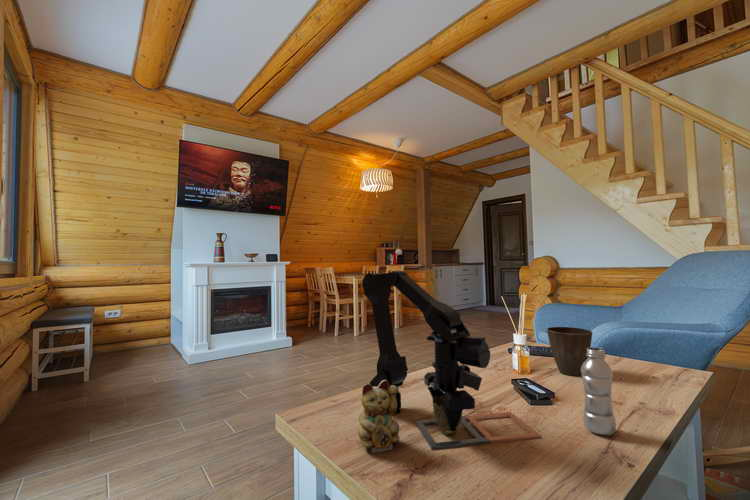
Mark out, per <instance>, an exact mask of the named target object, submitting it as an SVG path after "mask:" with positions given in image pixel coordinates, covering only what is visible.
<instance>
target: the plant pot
mask: <svg viewBox="0 0 750 500" xmlns="http://www.w3.org/2000/svg"><path fill="white" fill-rule="evenodd" d="M546 331H547V337H548V343H549V345H550V350H551V353H552V356H553V359H554V362H555V364H556V367H557V369H558V371H559V373H560V374H562V375H565V376H569V377H570V376H571V377H579V376H581V377H582V373H581V366H582V364H583V363H584V362H585V361H586V360H587V358H588V356H587V355H586V354H587V348H590V347H591V346H592V340H593V331H591V330H589V329H585V328H579V327H570V326H569V327H568V326H551V327H547V328H546Z"/></svg>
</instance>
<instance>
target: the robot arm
mask: <svg viewBox="0 0 750 500" xmlns="http://www.w3.org/2000/svg"><path fill="white" fill-rule="evenodd" d="M361 285H362V288H363V293H364V295H365V297H366V299H367V300H368V301H369V303H370V304H371V308H372V309H371V310H372V315H373V320H374V325H375V331H376V338H377V345H378V350H379V356H378V359H377V361H376V375H375V376H374V377H373V378H372V379H371V381H369V384H370V385H371V386H372V387H375V386H379V384H380V382H381V381H383V380H387V381H388V382H389V386H392V385H394V386H396V387H397V388H398V389H399V390H400V388H399V387H402V386H403V385H404V381H405V380H406V378H407V376H408V371H409V369H408V365H407V358H406V356H405V355H403V356H402V355H401V354H400V353H399V352H398V350H397V343H396V338H395V333H394V327H393V321H392V316H391V309H390V305H389V299H390V296H391V293H392V287H394V288H396V289H397V290H398V291H399V292H400V294H402V295H403V296H404V297H405V298H406V299H408V300H409V301H410V302H411V304H412V305H413V306H415V307H416V308H417V309H418V310H419V311H420V312H421V313H422V315H423V318H424V321H425V323H426V324H427V325H428V326H429V328H430V329H431V330H432V332H431V333H430V334H429V336H427V337H426V340H427V341H431V342H434V346H433V347H434V362H432V363H431V366H432V367H433V368H434V371H430V372H426V374H425V375H424V377H423V379H424V382H423V383H424V384H425V385H426V386H427V390H428V391H429V394H430V396H431V399H432V400H433V397H434V398H435V396H436V395H437V396H438V397H440V395H442V397H443V401H444V403H442V406H443V409H444V412H445V415H446V418H447V421H448V424H449V427H450V429H451V431H457V428H458V427H457V425H458V422H459V418H460V415H461V413H462V414H463V411H464V410H474V409H475V408H476V399H475V398H474V397H473V396H472V395H471V394H470V393H469V392H468V391H466V389H465V387H467V388H470V389H474V390H475V391H478V392H479V391H480V387H481V384H482V380H483V377H481V376H479V375H478V374H477V373H474V372H473V371H471V367H474V368H479V369H480V368H481V369H487V367H488V366H489V364H490V360H491V350H490V347H489V345H488V343H486V337H484V336H483V337H482V336H471V333H470V332H469V330H468V329H467V327H466V326H465V324H464V322H463V321H462V319H461V318H462V317H461V314H460V313H459V311H457V310H456V309H455V308H453V307H452V306H450V305H449V304H446V303H444V302H441V301H439V300H437V299H435V297H433V296H431V295H430V294H429V293H428V292H427V291H426V290H425V289H424V288H422V287H421V286H420V285H419V284H418V283H417V282H416V281H415V280H413V279H412V278H411V277H410V276H409V275H408V273H407V272H406V271H404V270H392V271H390V272H389V271H388V272H377V273H376V272H372V273H366V274H365V275H364V276H363V278H362V280H361ZM459 363H460V364H461V365H460V364H459ZM457 389H459V390H457ZM461 389H462V390H461ZM401 394H402V393H401V392H400V391H399V392H398V393H397V394H395V396H396V400H397V410H396V412H395V413H394V414H401V413H402V411H401V408H402V395H401ZM394 414H393V415H394Z"/></svg>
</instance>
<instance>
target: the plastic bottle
mask: <svg viewBox="0 0 750 500" xmlns="http://www.w3.org/2000/svg"><path fill="white" fill-rule="evenodd" d="M586 355H587V356H588V358H587V360H586V361H585V362H584V363H583V364H582V366H581V373H582V375H581V377H582V382H583V390H584V410H583V417H582V419H583V423H584V426H585V428H586V429H587V431H590V432H591V433H593V434H596V435H600V436H612V435H614V433H615V432H616V429H617V422H616V417H615V415H614V409H613V402H612V385H613V376H614V373H613V370H612V367H610V365H609V364H608V362H607V361H606V360H605V359H606V351H605V349H604V348H600V347H590V348H587V354H586Z"/></svg>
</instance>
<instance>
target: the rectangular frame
mask: <svg viewBox="0 0 750 500" xmlns="http://www.w3.org/2000/svg"><path fill="white" fill-rule="evenodd" d="M501 418H509V419H510V420H511V421H513V422H514V423H515V424H516V425H518V426H519V427H520V428H521V429H523V430H524V431H525V433H515V434H503V435H497V436H496V435H495V436H493V435H491V434H490V433H489V432H488V431H487V430H486V429H485V428H484V427H483V426H482V425H481V424H480V423H479V422H478V421H481V420H490V419H491V420H492V419H501ZM415 425H416V426H417V429H418V430H419V431H420V433H421V435H422V436H423V438H424V440H425V441H426V443H427V444H428V446H429V448H430V449H431V450H432V451H433V450H440V449H441V450H442V449H450V448H451V449H452V448H459V447H460V448H462V447H467V446H468V447H469V446H480V445H487V444H495V443H496V444H497V443H504V442H505V443H506V442H513V441H524V440H533V439H541V438H542V437H541V436H542V434H540V433H539V432H537V431H536V430H535V429H533V428H532V426H531V427H530V426H529V425H528V424H527V423H525V422H524V421H523V420H522V419H520V418H519V417H518V416H517V415H515V414H514V413H512V412H510V411H508V412H507V411H506V412H496V413H494V412H493V413H484V414H474V415H473V414H472V415H464V416H463V415H462V418H461V422H460V425H461V426H462V427H463V428H464V429H465V430H466V431H467V432H468V433H469V434H470V435H471V437H472V438H469V439H459V440H449V441H441V442H439V441H438V442H436V441H435V439H434V438H433V436H432V435H431V433H430V432H429V430H428V429H427V428H426V426H428V425H429V426H430V425H432V426H433V425H438V424H437V422H436V420H435V418H433V419H421V420H420V419H419V420H415ZM479 433H480V434H479Z"/></svg>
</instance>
